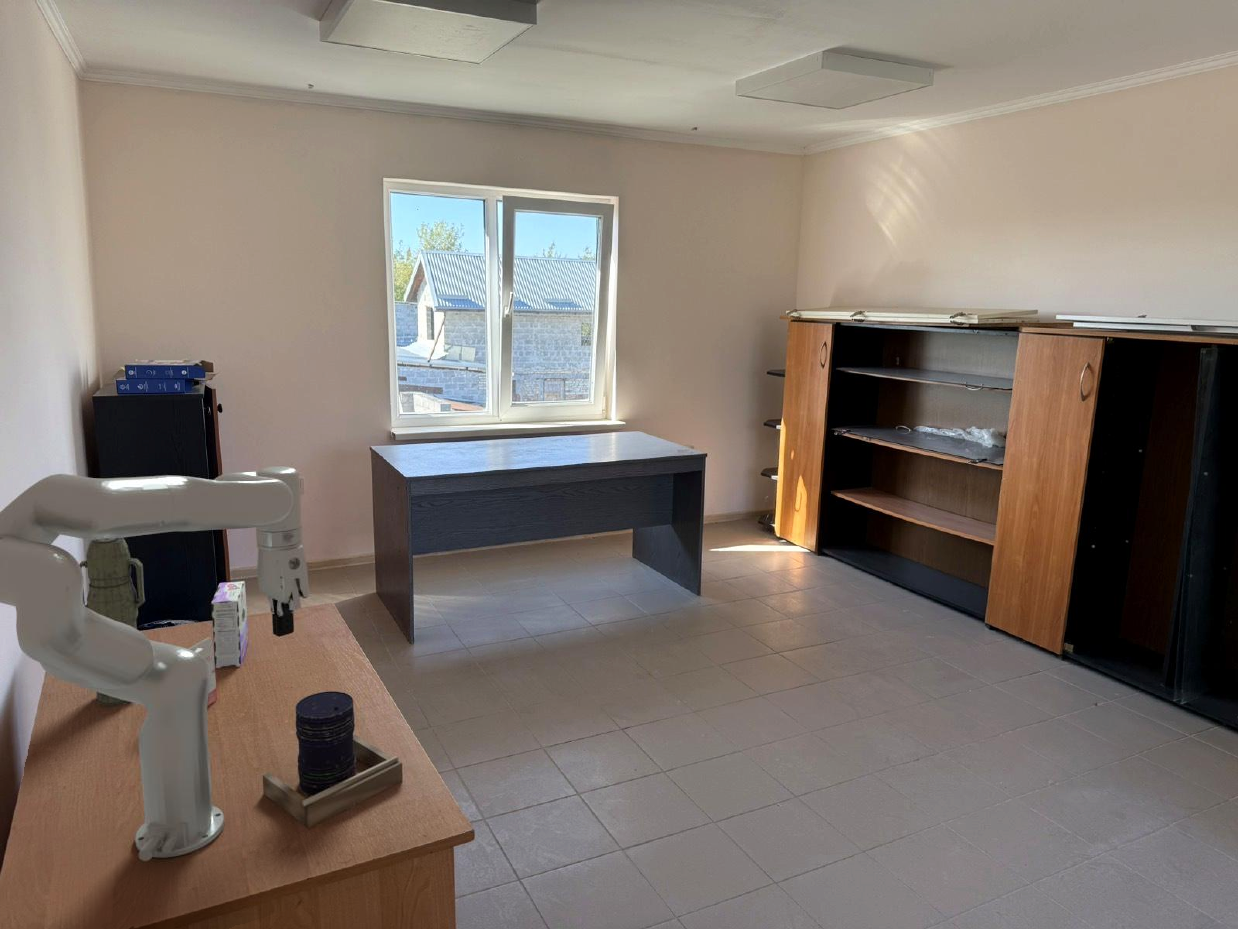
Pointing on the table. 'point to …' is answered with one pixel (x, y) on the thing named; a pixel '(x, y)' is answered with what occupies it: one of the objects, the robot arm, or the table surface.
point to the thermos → (113, 588)
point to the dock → (338, 787)
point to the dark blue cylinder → (325, 741)
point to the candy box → (229, 624)
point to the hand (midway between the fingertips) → (283, 633)
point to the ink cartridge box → (209, 657)
